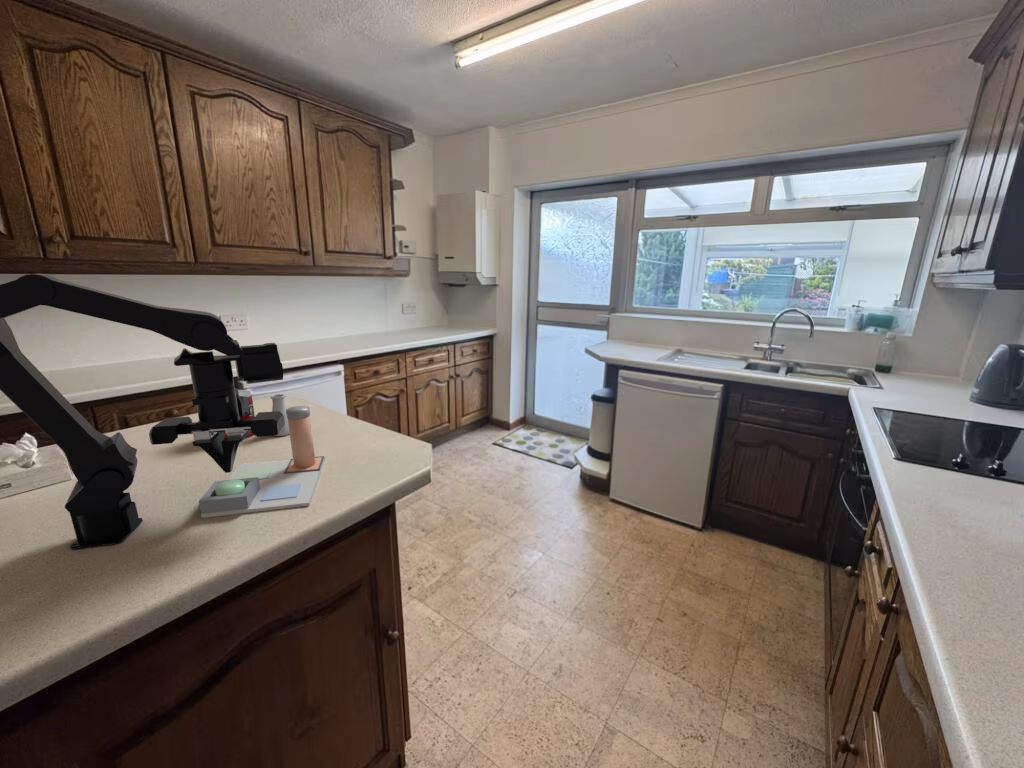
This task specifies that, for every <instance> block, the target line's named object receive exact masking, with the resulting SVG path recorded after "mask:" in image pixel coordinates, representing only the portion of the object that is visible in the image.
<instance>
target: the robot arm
mask: <svg viewBox="0 0 1024 768" xmlns="http://www.w3.org/2000/svg"><path fill="white" fill-rule="evenodd" d="M39 306H45V307H51V308H55V309H59V310H63V311H68V312H71V313H75V314H80V315H85V316H89V317H94V318H97V319H101V320H106V321H109V322H115V323H117V324H118V323H119V324H123V325H126V326H131V327H134V328H139V329H144V330H148V331H151V332H154V333H156V334H159V335H161V336H164V337H166V338H168V339H170V340H172V341H175V342H177V343H180V344H182V345H185V346H188V347H191V348H193V349H195V350H198V351H199V352H197V351H196V352H192V351H190V350H189V349H187V348H182V349H181V352H180V353H179V354H178V355H177V357H175V358H174V359H173V365H174V366H175V367H180V366H181V367H183V366H189V373H190V377H191V383H192V388H193V394H194V397H192V399H191V403H192V406H196V409H197V410H196V411H197V416H198V421H196V422H195V421H194V422H193V419H192V418H191V417H190V416H178V417H177V416H176V417H166V418H163V419H162V420H161V421H159V422H158V423H156V424H155V425H153V426H152V427H151V428H150V430H149V432H148V436H149V441H150V444H151V445H166V444H173V443H174V442H175V441H176V440H177V439H178V438H179V436H181V435H182V436H183V435H193V436H192V437H193V440H194V441H193V442H192V443H191V444H192V446H193V447H199V448H200V449H202V450H203V452H205V453H206V454H207V455H208V456H209V457H211V459H212V460H213V462H215V463H216V465H218V466H219V467H220V469H221V470H222V472H224V473H225V474H227V473H232V471H233V468H234V464H235V461H236V456H237V451H238V448H239V446H240V443H242V442H243V441H244V440H245V439H246V438H245V437H246V436H247V435H248V434H249V433H250V430H251V433H252V434H254V435H253V436H255V437H257V438H259V437H260V438H261V437H276V436H275V435H278V434H279V432H280V431H281V429H282V428H283V426H284V425H285V421H284V416H283V414H282V413H281V412H280V411H274V412H272V411H262V412H261V411H259V412H258V413H257V414H256V415H255V417H254V418H253V419H241V420H240V417H243V416H244V415H245V414H248V413H249V401H248V397H244V396H239V392H238V390H239V389H238V388H237V387H235V386H236V385H235V380H234V372H233V368H232V366H233V365H232V362H234V363H235V368H236V369H235V370H236V375H237V379H238V380H243V382H246V385H251V384H260V383H268V382H276V381H283V380H284V367H283V363H282V362H281V358H280V354H279V351H278V345H277V344H276V343H275V342H266V343H263V344H253V345H240V343H239V342H238V340H236V339H234V338H232V337H231V336H230V335H229V334H228V331H227V328H226V325H225V324H224V322H223V321H222V319H221V318H220V317H218V316H217V315H216V314H214V313H212V312H209V311H201V310H196V309H195V310H193V309H186V308H176V307H166V306H159V305H154V304H150V303H149V302H144V301H140V300H137V299H132V298H129V297H125V296H121V295H117V294H115V293H110V292H107V291H103V290H99V289H96V288H92V287H88V286H84V285H80V284H77V283H73V282H69V281H65V280H63V279H59V278H56V277H54V276H52V275H50V274H45V273H32V274H31V273H30V274H29V273H28V274H24V275H22V276H19V277H17V279H14V280H11V281H9V282H5V283H2V284H0V391H1V392H2V394H4V396H6V397H7V399H9V400H10V401H11V402H12V403H13V404H14V405H15V406H16V407H17V408H19V410H20V411H21V412H22V413H24V414H25V415H26V417H28V419H30V420H31V421H32V422H33V423H34V424H35V425H36V426H37V427H38V428H39V430H41V431H42V432H43V433H44V434H45V435H46V436H47V437H48V438H49V439H51V441H52V442H53V443H54V444H56V446H57V447H58V448H60V449H61V450H62V452H63V453H64V456H65V458H66V460H67V462H68V465H69V468H70V470H71V471H72V472H71V473H72V474H73V475H74V477H75V478H76V483H75V484H74V485H73V488H72V490H71V492H70V495H69V496H68V498H67V501H66V503H65V505H64V509H65V510H66V511H67V512H68V513H69V515H70V519H71V520H70V521H71V523H72V526H73V529H74V533H75V537H76V540H75V541H73V542H72V543H71V544H70V545H69V547H70V550H77V549H84V548H85V549H86V548H92V547H102V546H109V545H115V544H116V545H117V544H120V543H122V542H124V541H125V540H126V539H127V538H128V537H129V536H130V534H132V533H133V532H134V531H135V530H136V529H137V527H138V526H140V525H141V523H142V522H144V520H143V518H142V517H139V514H138V510H137V509H138V507H137V505H136V502H135V501H132V497H131V494H130V492H125V491H126V490H128V489H129V488H130V487H131V485H132V484H133V482H134V479H135V476H136V475H135V474H136V471H137V466H138V458H137V452H138V449H137V448H135V447H133V446H131V445H130V444H129V443H128V442H127V441H126V440H125V438H124V436H123V435H122V433H121V432H119V431H118V432H116V433H114V434H113V435H111V436H108V435H107V434H104V433H102V432H101V431H98V430H97V429H95V428H94V427H93V426H92V424H91V423H90V422H89V421H88V420H87V419H86V418H85V417H84V416H83V415H82V414H81V413H80V412H79V411H78V409H76V407H74V406H73V404H72V403H70V401H69V400H68V399H67V398H66V397H65V396H64V395H63V394H62V393H61V392H60V391H59V389H57V388H56V387H55V386H54V385H53V384H52V382H51V381H50V380H48V378H47V377H46V376H45V375H44V374H43V373H42V372H41V371H40V370H39V369H38V368H37V367H36V366H35V365H34V364H33V363H32V361H31V360H30V359H28V358H27V356H26V355H25V354H23V352H22V351H21V349H20V346H19V344H18V343H17V340H16V337H15V334H14V333H13V330H12V328H11V327H10V325H9V323H8V322H7V321H6V320H7V319H5V318H8V317H10V316H11V317H12V316H14V315H17V314H20V313H22V312H25V311H28V310H30V309H33V308H36V307H39ZM214 351H216V352H219V353H220V354H223V355H214ZM224 432H226V434H227V436H226V437H225V438H224Z"/></svg>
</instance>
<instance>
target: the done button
mask: <svg viewBox="0 0 1024 768" xmlns="http://www.w3.org/2000/svg"><path fill="white" fill-rule="evenodd" d="M244 489H245V485H244V481H242V480H230V481H226V482H223V483H221V484H219V485H217V486H216V487H215V492H216V496H225V495H235V494H242V492H243V491H244Z"/></svg>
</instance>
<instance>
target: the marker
mask: <svg viewBox="0 0 1024 768" xmlns="http://www.w3.org/2000/svg"><path fill="white" fill-rule="evenodd" d="M286 415H287V418H288V426H289V433H290V434H289V440H290V445H291V454H292V459H293V462H294V467H295V468H307V467H310V466H312V465H314V464H315V463H316V462H315V457H316V455H315V447H314V438H313V430H312V422H311V411H310V406H307V405H297V406H296V405H295V406H291V407H287V409H286Z"/></svg>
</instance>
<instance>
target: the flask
mask: <svg viewBox="0 0 1024 768" xmlns="http://www.w3.org/2000/svg"><path fill="white" fill-rule="evenodd" d="M285 397H286V394H284V393H276V394H275V393H274V394H273V395H271V396H270V399H271V400H272V406H271V407H272V408H271V412H274V411H280V412H281V413H282V414H283V416H284V421H285V425H284V426H283V428H282V429H281V431H280V432H279V434H278V435H275V436H274V437H281V436H282V437H285V436H287V435H290V433H289V426H288V418H287V415H286V409H288V407H287V404H286V400H285Z"/></svg>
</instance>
